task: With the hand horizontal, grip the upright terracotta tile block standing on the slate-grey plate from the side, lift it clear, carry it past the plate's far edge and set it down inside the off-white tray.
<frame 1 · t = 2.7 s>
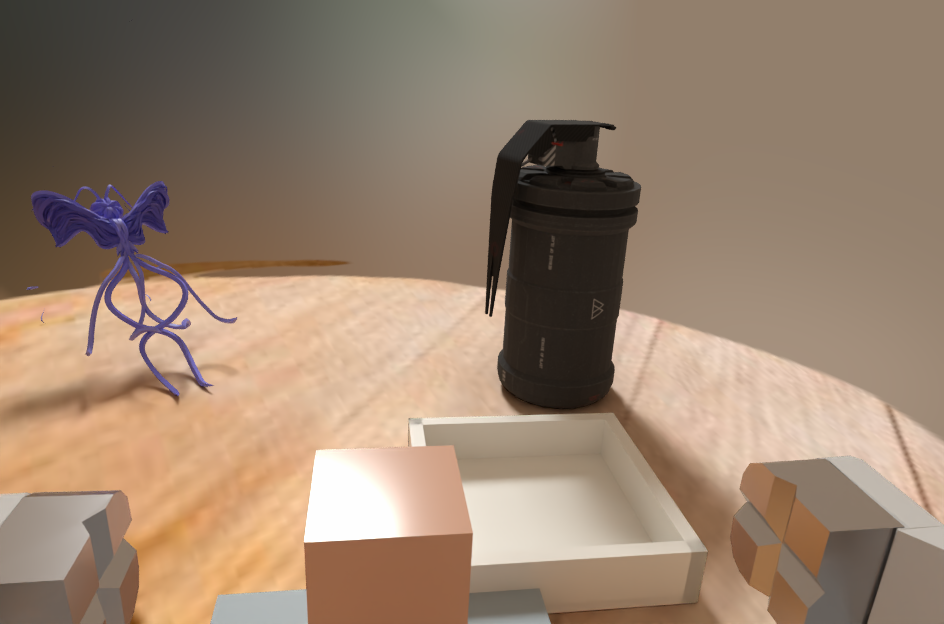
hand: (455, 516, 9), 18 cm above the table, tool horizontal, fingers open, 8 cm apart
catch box: (533, 522, 37), on the table
grenade: (543, 390, 53), on the table
squid: (133, 344, 57), on the table
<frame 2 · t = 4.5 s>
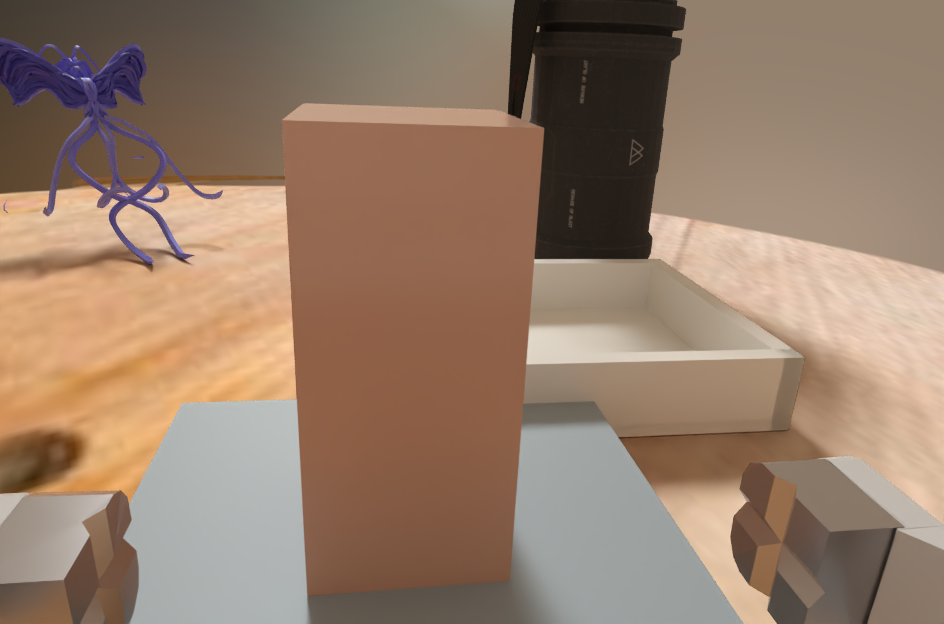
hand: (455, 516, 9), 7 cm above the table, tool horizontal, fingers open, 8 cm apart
tile: (405, 523, 17), point 1 cm above the table, touching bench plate
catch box: (573, 362, 31), on the table
grenade: (570, 266, 46), on the table
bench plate: (404, 571, 18), on the table
squid: (106, 229, 50), on the table
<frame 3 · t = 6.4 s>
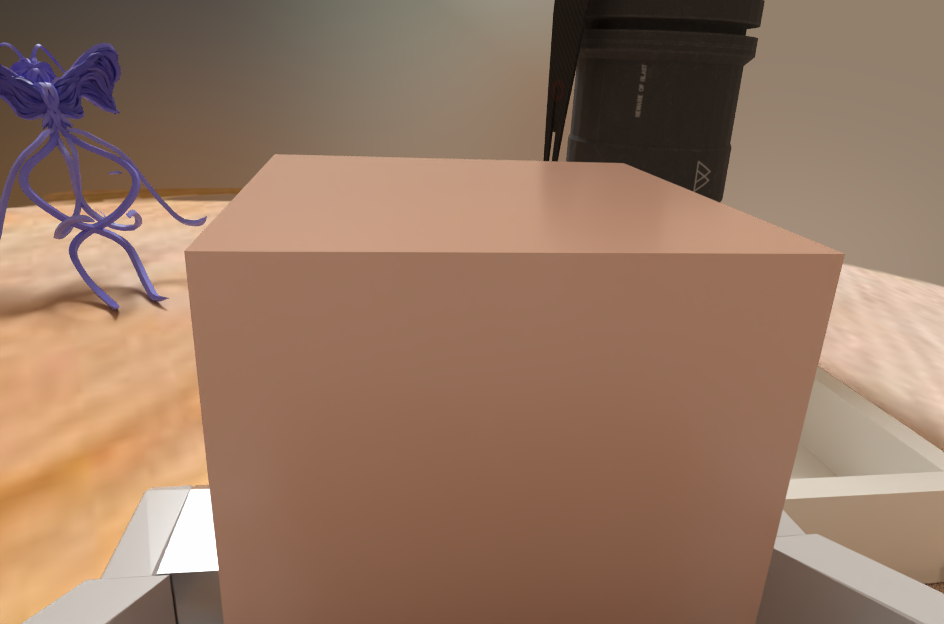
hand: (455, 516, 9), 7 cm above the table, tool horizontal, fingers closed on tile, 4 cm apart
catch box: (645, 459, 24), on the table
grenade: (614, 307, 39), on the table
squid: (72, 259, 43), on the table
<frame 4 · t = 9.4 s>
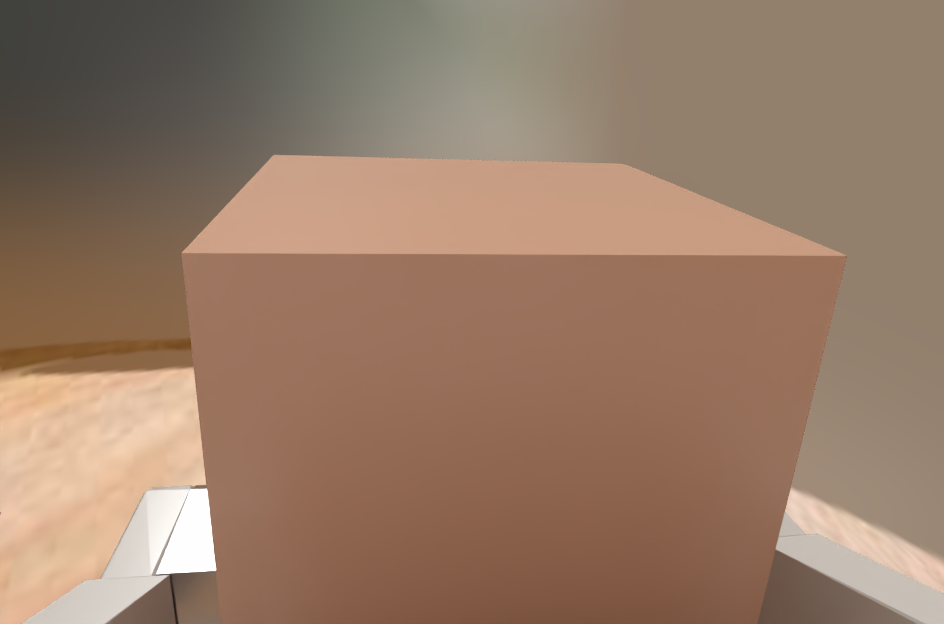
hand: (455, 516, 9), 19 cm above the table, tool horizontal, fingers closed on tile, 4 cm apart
when the fingers open (7 cm above the table, at t = 12.6 s): tile drops 1 cm, resting on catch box.
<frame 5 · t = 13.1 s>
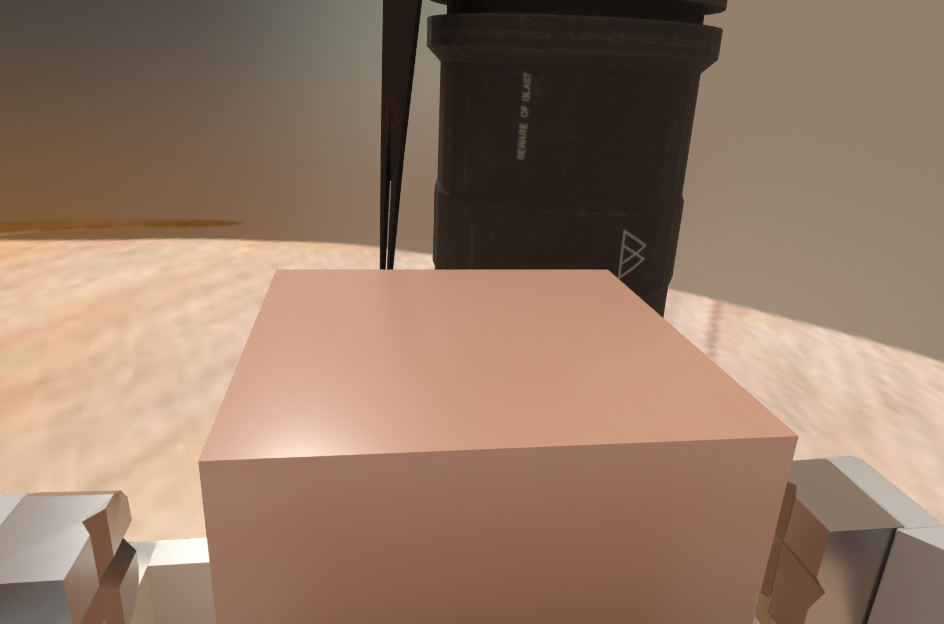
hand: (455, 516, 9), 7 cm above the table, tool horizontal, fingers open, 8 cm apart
grenade: (516, 431, 26), on the table
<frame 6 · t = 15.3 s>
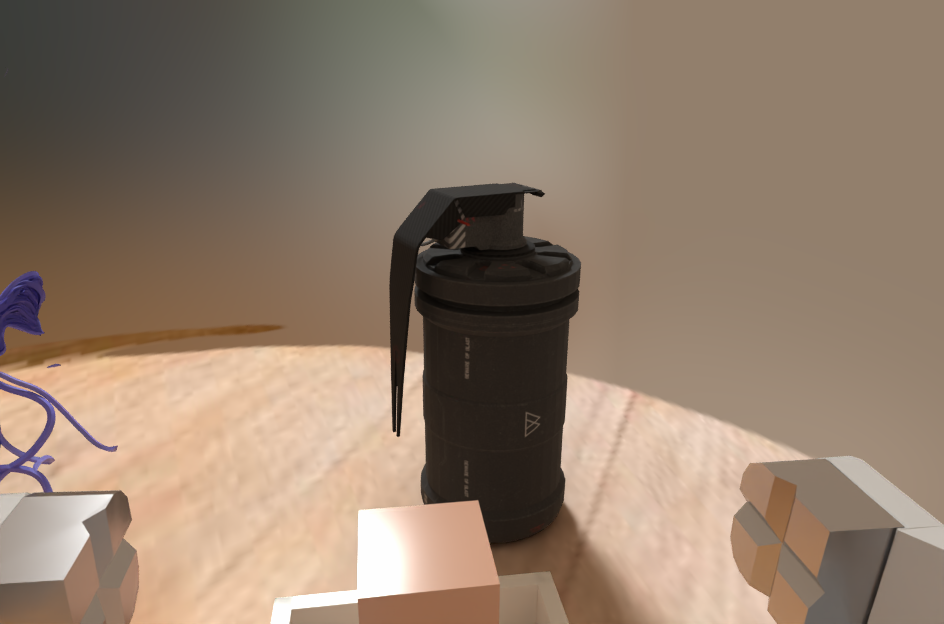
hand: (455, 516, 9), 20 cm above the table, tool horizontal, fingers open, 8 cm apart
grenade: (479, 511, 43), on the table
squid: (4, 473, 46), on the table
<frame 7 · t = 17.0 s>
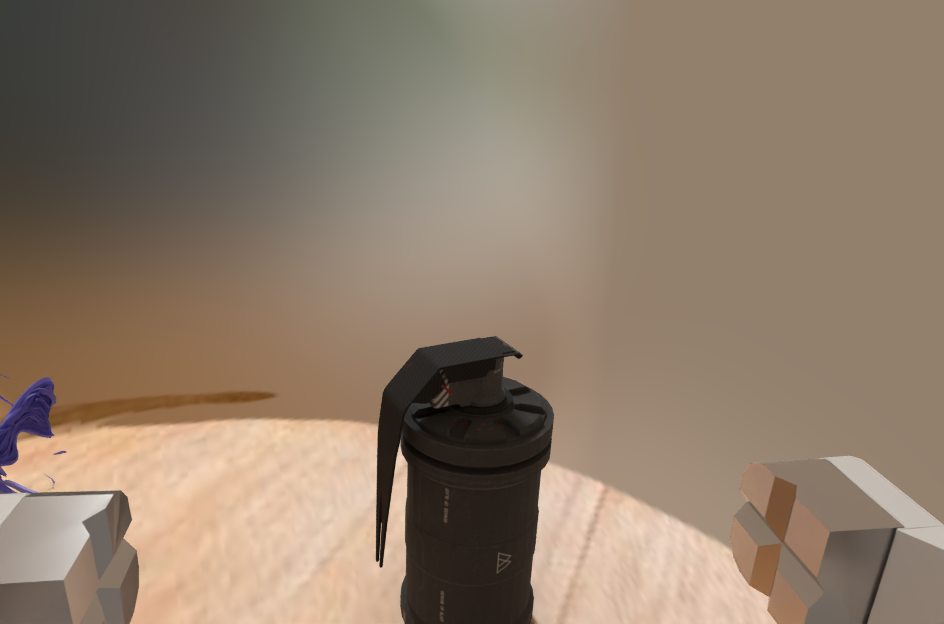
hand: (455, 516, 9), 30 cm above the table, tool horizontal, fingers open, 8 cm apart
grenade: (454, 623, 46), on the table
squid: (11, 567, 49), on the table
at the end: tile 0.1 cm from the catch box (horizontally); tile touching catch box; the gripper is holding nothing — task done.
